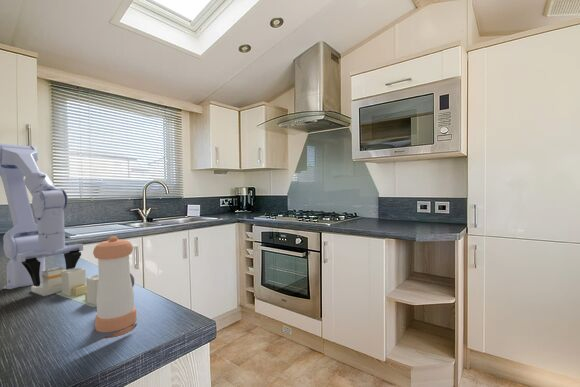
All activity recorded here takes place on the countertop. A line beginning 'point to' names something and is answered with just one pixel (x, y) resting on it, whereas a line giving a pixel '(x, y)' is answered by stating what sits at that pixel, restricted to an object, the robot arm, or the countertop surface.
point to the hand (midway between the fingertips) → (53, 281)
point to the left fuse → (72, 279)
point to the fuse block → (78, 295)
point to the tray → (45, 292)
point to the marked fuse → (51, 277)
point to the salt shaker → (114, 288)
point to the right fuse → (92, 288)
